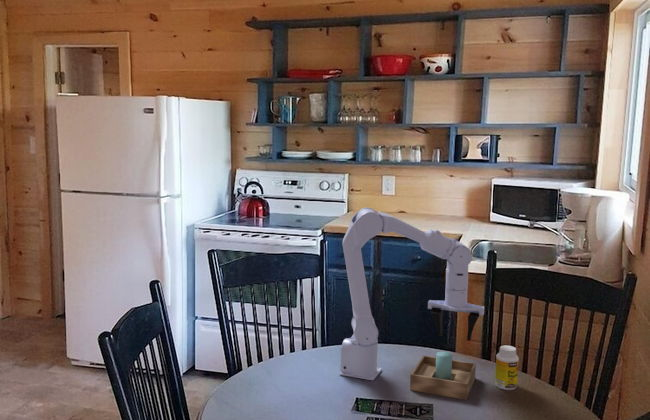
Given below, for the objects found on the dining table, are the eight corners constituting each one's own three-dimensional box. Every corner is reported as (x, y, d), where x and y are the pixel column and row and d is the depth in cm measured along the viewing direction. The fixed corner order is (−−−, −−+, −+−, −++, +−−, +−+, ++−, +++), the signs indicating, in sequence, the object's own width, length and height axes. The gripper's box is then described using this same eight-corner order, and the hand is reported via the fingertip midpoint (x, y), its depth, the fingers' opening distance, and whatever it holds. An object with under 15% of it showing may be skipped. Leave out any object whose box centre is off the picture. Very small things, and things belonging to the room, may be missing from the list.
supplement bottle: (507, 392, 148) (509, 353, 146) (489, 384, 152) (491, 346, 151) (521, 387, 151) (524, 349, 150) (504, 380, 155) (506, 342, 154)
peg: (433, 385, 152) (434, 355, 151) (438, 379, 155) (439, 350, 154) (448, 388, 150) (449, 358, 149) (453, 383, 153) (454, 353, 152)
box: (410, 389, 149) (410, 374, 148) (422, 369, 162) (423, 355, 161) (466, 399, 144) (467, 384, 143) (475, 378, 156) (475, 363, 156)
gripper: (426, 288, 156) (424, 338, 157) (482, 294, 150) (480, 346, 152) (431, 282, 162) (430, 330, 164) (486, 288, 157) (483, 337, 158)
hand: (454, 337), depth 158 cm, fingers open, 7 cm apart
